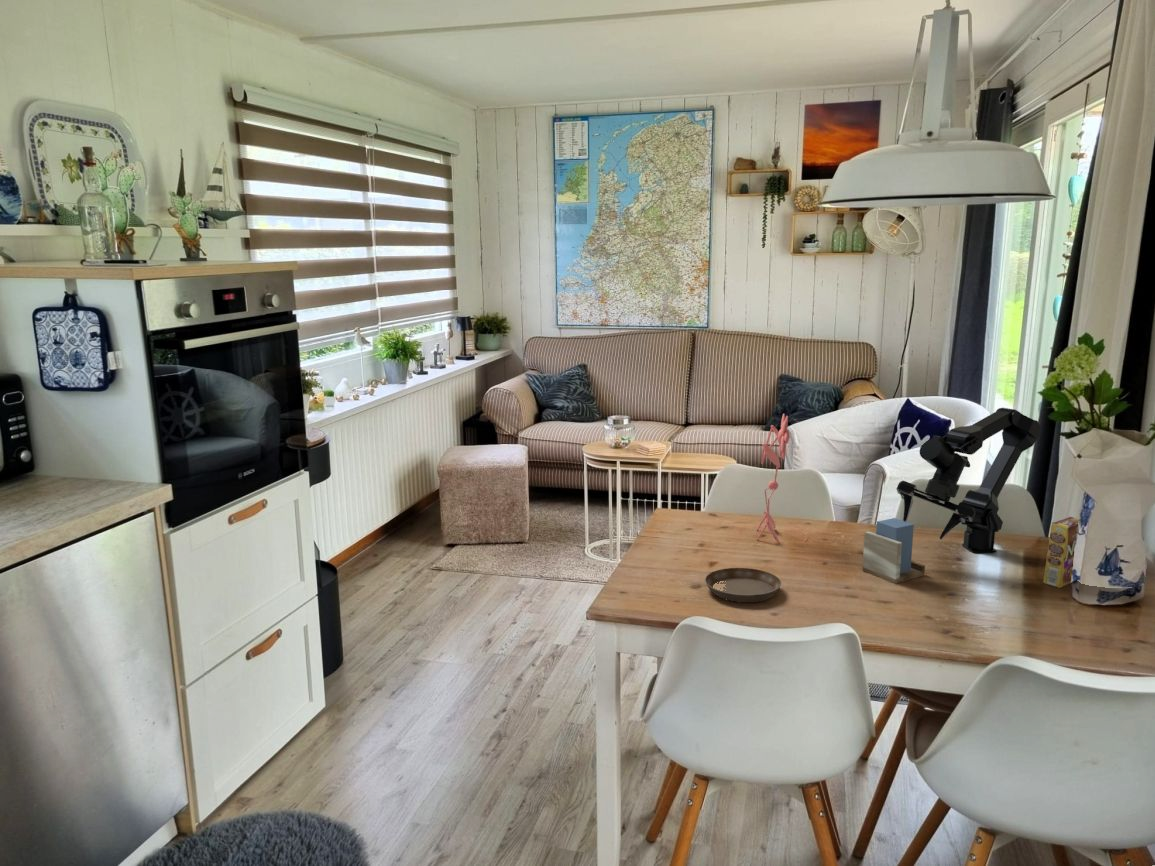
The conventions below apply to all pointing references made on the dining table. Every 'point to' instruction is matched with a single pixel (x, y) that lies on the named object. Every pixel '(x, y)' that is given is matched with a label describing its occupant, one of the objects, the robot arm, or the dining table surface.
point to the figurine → (783, 439)
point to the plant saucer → (744, 584)
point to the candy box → (1061, 552)
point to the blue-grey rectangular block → (899, 538)
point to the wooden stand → (887, 559)
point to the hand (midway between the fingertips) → (921, 531)
